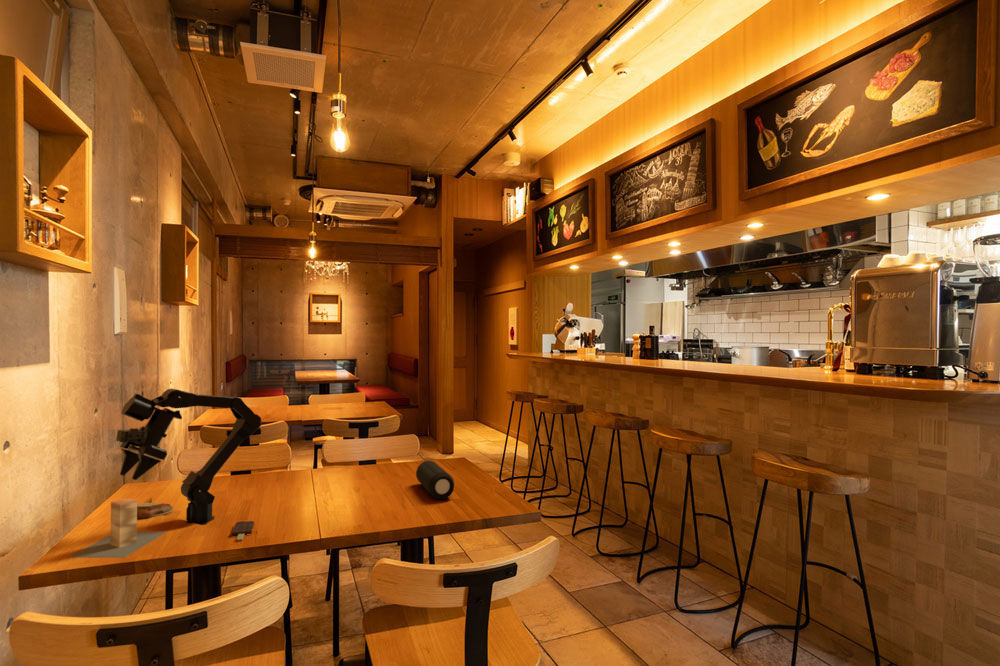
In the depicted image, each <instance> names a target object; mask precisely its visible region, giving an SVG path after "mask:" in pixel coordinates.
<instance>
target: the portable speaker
mask: <svg viewBox="0 0 1000 666" xmlns="http://www.w3.org/2000/svg"><path fill="white" fill-rule="evenodd" d="M415 472H416V473H415V475H416V479H417V481H418V483H420V484H421V485H422V486H423V488H425V490H426V491H427V492H428V493H429V494H430V495H431V496H432V498H435V499H436V500H443V499H447V498H448V497H451V495H452V494H453V492H454V489H455V481H454V478H453V477H452V475H450V474H449V473H448V472H447V471H445V469H443V468H442V467H441V466H440V465H438V463H436V462H435V461H433V460H425V461H422V462H421V463H420V464H419V465H418V467H417V469H416V471H415Z"/></svg>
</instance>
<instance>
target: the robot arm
mask: <svg viewBox="0 0 1000 666" xmlns="http://www.w3.org/2000/svg"><path fill="white" fill-rule="evenodd" d="M158 407H160V408H163V409H160V408H158ZM191 407H209V408H221V409H222V408H224V409H229V410H230V411H231V413H232V415H233V417H234V418H235V419H236V420H235V422H234V423H233V426H232V429H231V432H230V434H229V435H228V436H227V438H226V439H225V440H224V441H223V442H222V443H221V445H220V446H219V447H218V449H216V451H215V452H214V453H213V454H212V456H211V457H210V458H209V459H208V460H207V461H206V462H205V464H204V465H203V467H202V468H201V469H200V470H197V472H195V471H192V470H191V471H190V472H189V473H188V475H187V476H186V477H185V478H184V480H182V481H181V482H182V485H181V486H180V493H181V495H182V496H184V497H185V498H186V500H187V501H188V503H187V507H186V510H185V511H186V515H185V516H186V517H185V518H186V520H185V522H184V524H195V525H206V524H208V523H210V522H211V521H212V520H214V519H215V518H216V516H215V515H214V516H213V504H214V502H215V501H214V500H215V497H216V496H215V495H214V494H212V493H211V492H209V490H210V488H211V486H212V484H213V481H214V477H215V476H216V475H217V474H218V472H219V471H220V469H221V468H222V467H223V466H224V465H225V463H227V461H228V460H229V458H230V457H231V456H232V454H234V452H235V451H236V450H237V449H238V447H239V446H240V445H241V444H242V442H244V440H246V439H247V438H249V437H250V436H252V435H253V434H254V433H255V432H257V431H258V429H260V427H261V426H262V424H263V423H262V418H261V416H260V415H259V414H257V413H256V414H255V412H254V411H253V410H252V409H251V407H249V406H248V405H247V404H246V403H245V402H244V400H243V399H242V397H240V396H239V397H238V396H232V395H231V396H224V395H208V394H200V393H199V394H198V393H193V392H190V391H184V390H180V389H175V388H168V389H166V390H165V391H164V392H163V393H162V394H161V395H160V396H157V397H155V398H152V399H149V398H146V397H144V396H142V394H140V393H134V395H133V396H132V397H130V399H129V400H128V401H126V403H125V404H124V406H123V407H122V410H121V415H124V416H126V417H129V418H132V419H134V420H136V421H139V422H144V421H145V420H148V421H147V423H146V425H145V426H144V425H143V426H140V428H132V427H131V428H129V430H127V429H118V430H117V434H116V438H115V441H116V442H119V443H121V444H120V448H121V449H120V450H121V452H122V453H123V460H122V461H123V462H122V465H121V469H120V473H119V475H120V476H123V477H125V475H126V474H128V473H129V471H130V470H132V469H133V467H135V466H136V467H135V470H134V471H133V474H132V477H131V479H132V480H134V481H137V480H138V479H139V478H140V477H142V475H144V474H146V473H147V472H148V471H149V470H150V469H152V468H153V467H155V466H156V465H157V464H159V463H161V462H162V461H164V460H165V459H166V458H167V455H168V452H167V449H164V448H161V447H160V446H159V445H160V443H161V441H162V440H163V438H167V436H168V434H166V433H167V431H168V429H169V427H170V425H171V424H172V422H173V420H174V419H176V420H182V418H183V416H182V414H181V410H179V409H184V408H191ZM170 408H172V409H178V410H171V409H170Z"/></svg>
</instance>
